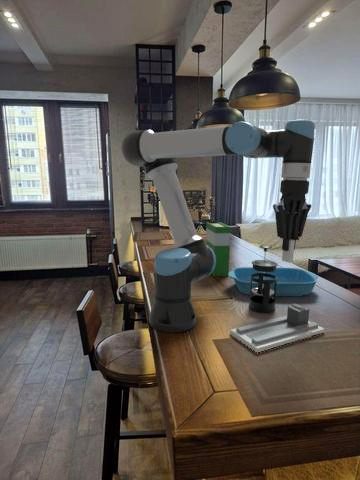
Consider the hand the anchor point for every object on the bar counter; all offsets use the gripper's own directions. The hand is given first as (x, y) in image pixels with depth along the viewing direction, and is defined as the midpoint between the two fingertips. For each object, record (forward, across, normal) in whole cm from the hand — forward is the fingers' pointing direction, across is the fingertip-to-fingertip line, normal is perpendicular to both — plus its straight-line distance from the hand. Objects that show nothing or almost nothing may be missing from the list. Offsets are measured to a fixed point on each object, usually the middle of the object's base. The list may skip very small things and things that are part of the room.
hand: (287, 261), depth 93 cm
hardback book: (+23, +20, +64) cm, 71 cm away
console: (+22, -2, -1) cm, 22 cm away
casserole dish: (+23, +25, +30) cm, 46 cm away
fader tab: (+20, +6, -1) cm, 21 cm away
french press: (+23, +7, +16) cm, 29 cm away
